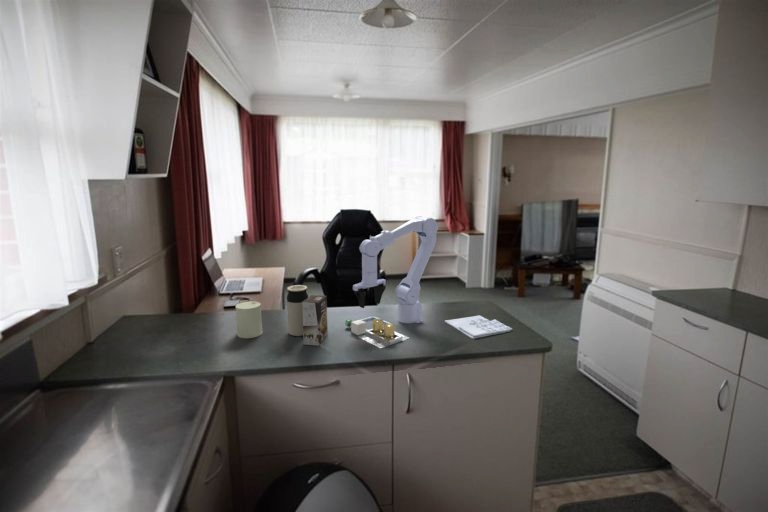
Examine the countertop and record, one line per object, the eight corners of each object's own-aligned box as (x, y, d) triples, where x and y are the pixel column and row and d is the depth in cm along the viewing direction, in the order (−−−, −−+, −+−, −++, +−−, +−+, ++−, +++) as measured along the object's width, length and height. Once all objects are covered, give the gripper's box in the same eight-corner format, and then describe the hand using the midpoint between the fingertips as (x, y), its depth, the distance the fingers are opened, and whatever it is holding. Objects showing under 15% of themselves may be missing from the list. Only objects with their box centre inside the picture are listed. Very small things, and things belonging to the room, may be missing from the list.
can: (267, 331, 161) (265, 301, 158) (250, 340, 152) (248, 309, 150) (249, 327, 164) (247, 298, 162) (232, 336, 156) (229, 305, 154)
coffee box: (320, 346, 147) (318, 302, 144) (303, 344, 148) (301, 301, 145) (328, 336, 156) (327, 295, 152) (312, 335, 157) (310, 294, 154)
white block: (359, 332, 159) (359, 319, 158) (366, 335, 156) (366, 322, 155) (351, 334, 157) (351, 321, 156) (357, 338, 154) (357, 324, 153)
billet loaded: (389, 336, 152) (389, 322, 151) (396, 340, 149) (397, 325, 148) (381, 339, 149) (381, 325, 148) (388, 343, 146) (388, 328, 145)
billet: (379, 331, 157) (379, 318, 156) (385, 335, 154) (385, 321, 152) (370, 334, 155) (370, 320, 154) (376, 337, 151) (376, 323, 150)
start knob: (351, 325, 163) (350, 318, 162) (361, 330, 157) (361, 323, 157) (345, 326, 161) (345, 320, 160) (355, 332, 156) (355, 325, 155)
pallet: (386, 330, 161) (386, 324, 160) (409, 341, 151) (409, 334, 151) (357, 340, 152) (357, 333, 152) (380, 351, 142) (380, 344, 142)
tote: (373, 319, 174) (373, 315, 174) (392, 327, 165) (392, 323, 164) (349, 326, 166) (349, 322, 166) (368, 334, 157) (368, 331, 157)
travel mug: (313, 332, 160) (312, 287, 156) (296, 338, 154) (294, 291, 150) (301, 327, 165) (299, 283, 161) (284, 332, 159) (282, 287, 156)
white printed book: (472, 340, 153) (472, 335, 153) (443, 323, 171) (443, 318, 171) (513, 332, 161) (513, 327, 160) (481, 316, 179) (481, 311, 178)
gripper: (377, 266, 166) (377, 299, 168) (348, 272, 156) (348, 306, 159) (389, 269, 160) (389, 303, 163) (359, 275, 151) (359, 311, 154)
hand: (369, 305), depth 161 cm, fingers open, 7 cm apart
